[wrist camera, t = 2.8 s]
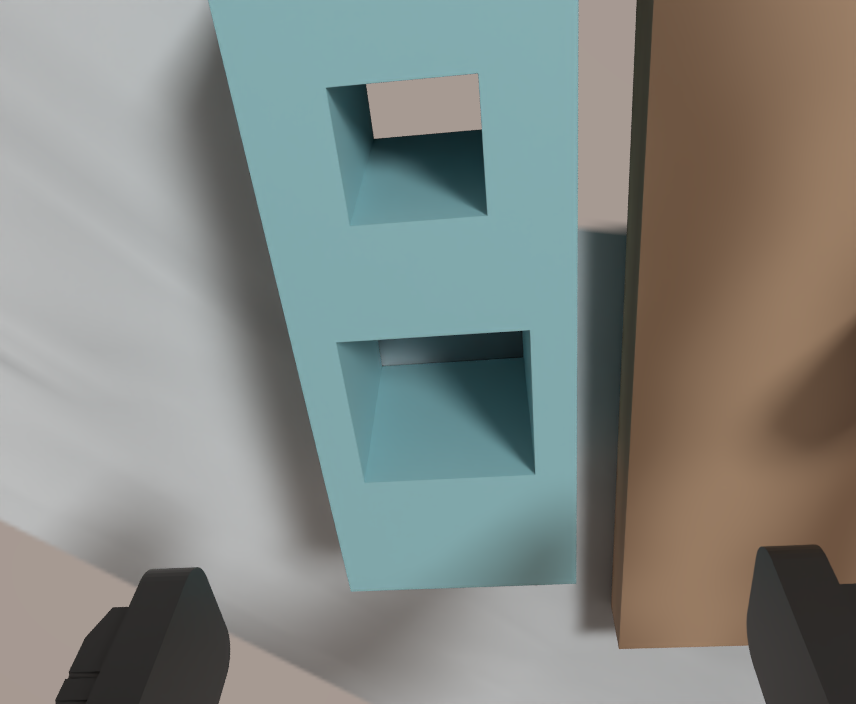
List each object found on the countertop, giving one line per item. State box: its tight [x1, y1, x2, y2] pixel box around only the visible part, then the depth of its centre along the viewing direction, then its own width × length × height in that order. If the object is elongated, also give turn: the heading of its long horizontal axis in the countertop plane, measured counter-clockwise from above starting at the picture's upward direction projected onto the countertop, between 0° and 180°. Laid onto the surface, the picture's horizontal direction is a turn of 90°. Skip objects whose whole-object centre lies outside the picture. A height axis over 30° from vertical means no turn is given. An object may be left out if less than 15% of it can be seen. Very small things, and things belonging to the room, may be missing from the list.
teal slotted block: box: [208, 0, 578, 591], centre depth 16 cm, size 5×13×4 cm, turn 6°
